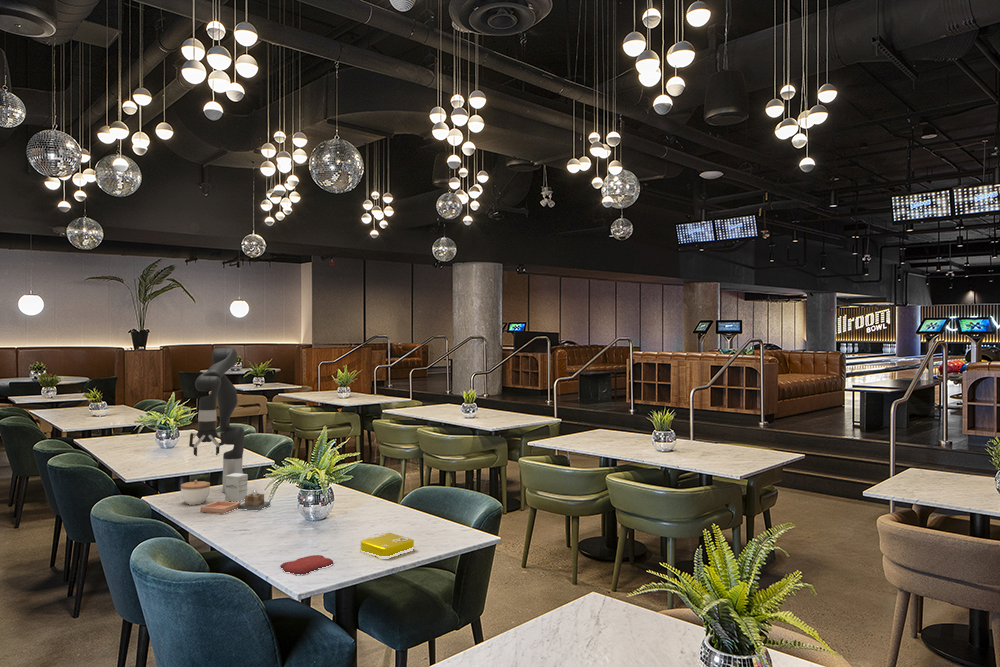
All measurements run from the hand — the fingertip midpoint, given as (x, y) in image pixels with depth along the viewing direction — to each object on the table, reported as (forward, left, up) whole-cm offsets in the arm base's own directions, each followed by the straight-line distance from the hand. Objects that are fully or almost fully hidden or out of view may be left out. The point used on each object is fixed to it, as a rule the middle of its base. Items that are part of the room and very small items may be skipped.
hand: (206, 455), depth 287 cm
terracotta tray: (-3, +6, -25) cm, 26 cm away
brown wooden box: (-11, +18, -23) cm, 31 cm away
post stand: (-11, +18, -25) cm, 33 cm away
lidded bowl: (-11, -14, -25) cm, 31 cm away
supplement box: (-21, +1, -25) cm, 33 cm away
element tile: (+30, +102, -26) cm, 109 cm away
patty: (+53, +82, -26) cm, 101 cm away
